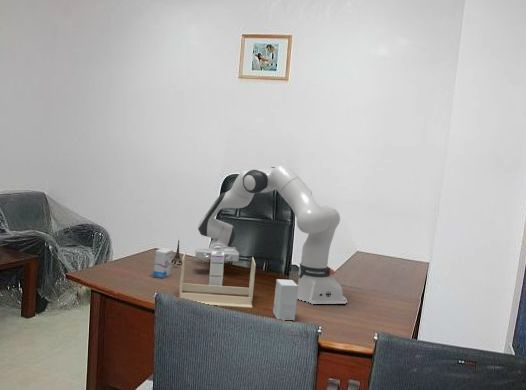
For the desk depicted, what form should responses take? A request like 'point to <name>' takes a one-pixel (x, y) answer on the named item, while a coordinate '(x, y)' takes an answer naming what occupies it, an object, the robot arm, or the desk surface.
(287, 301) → the small box
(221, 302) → the wooden rack
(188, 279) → the desk surface
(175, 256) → the eiffel tower figurine
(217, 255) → the syrup box
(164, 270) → the ink box
